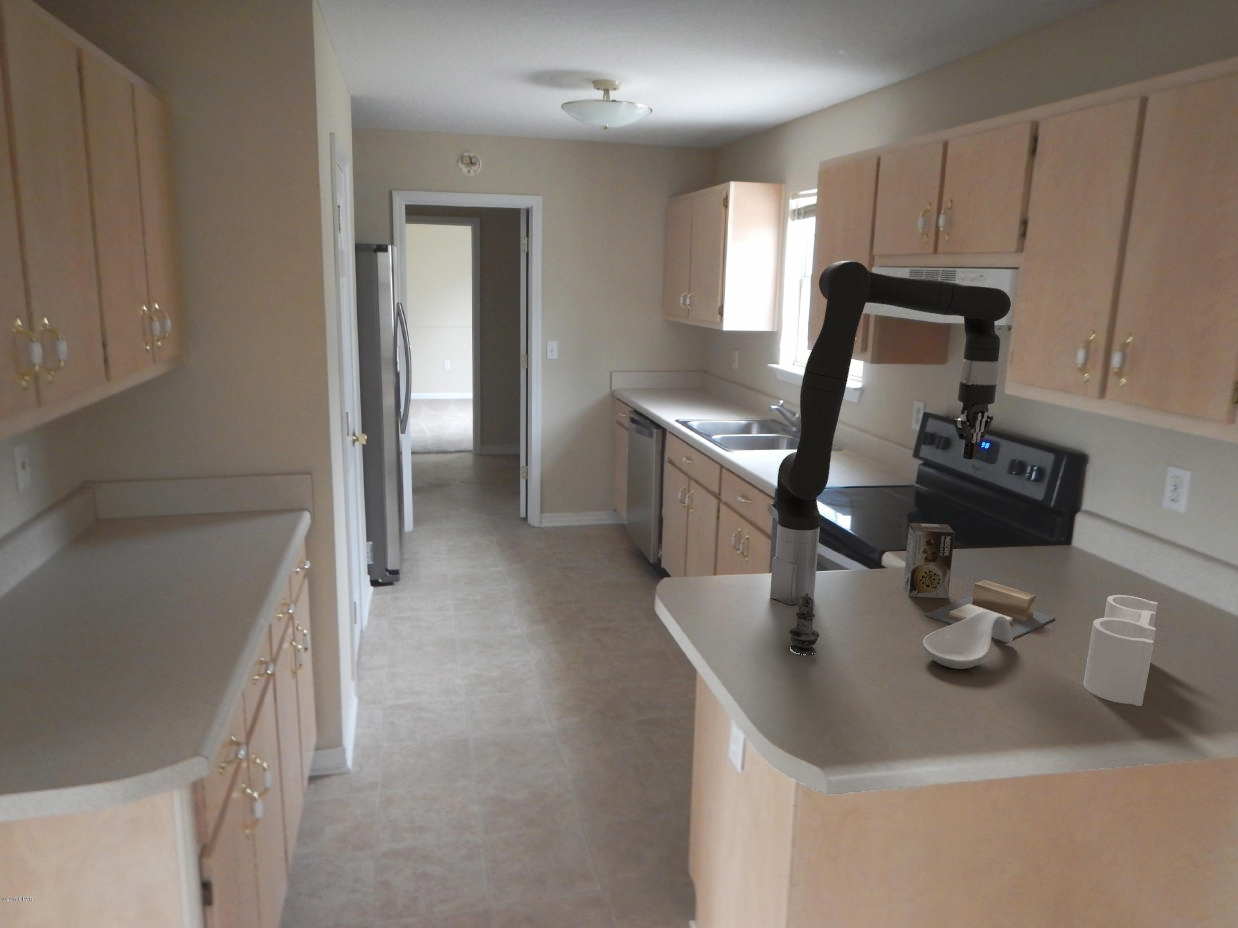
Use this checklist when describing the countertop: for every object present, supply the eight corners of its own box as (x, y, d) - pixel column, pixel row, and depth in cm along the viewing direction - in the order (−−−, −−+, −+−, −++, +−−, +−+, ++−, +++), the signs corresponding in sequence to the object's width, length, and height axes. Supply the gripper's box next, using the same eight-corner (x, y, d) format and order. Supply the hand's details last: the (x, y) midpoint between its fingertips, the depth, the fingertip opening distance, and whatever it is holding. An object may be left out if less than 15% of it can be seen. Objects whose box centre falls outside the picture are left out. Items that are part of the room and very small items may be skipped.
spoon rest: (965, 683, 162) (970, 646, 161) (909, 660, 171) (912, 626, 169) (1028, 648, 177) (1032, 615, 175) (973, 629, 186) (976, 597, 184)
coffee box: (941, 589, 210) (948, 523, 207) (948, 599, 204) (956, 531, 201) (901, 587, 211) (908, 521, 208) (907, 596, 205) (914, 529, 202)
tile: (1012, 622, 190) (993, 642, 186) (969, 607, 198) (949, 626, 194) (1011, 607, 189) (992, 627, 185) (968, 593, 196) (948, 612, 192)
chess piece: (819, 646, 176) (824, 589, 174) (816, 658, 171) (820, 599, 168) (789, 642, 178) (793, 585, 175) (785, 653, 172) (789, 595, 170)
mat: (1004, 643, 180) (1004, 641, 180) (925, 615, 194) (925, 613, 194) (1055, 619, 194) (1055, 617, 194) (978, 594, 208) (978, 593, 208)
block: (1024, 621, 191) (1027, 599, 190) (972, 604, 200) (974, 583, 199) (1033, 617, 194) (1036, 595, 193) (981, 600, 203) (984, 579, 202)
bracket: (1097, 647, 180) (1105, 590, 177) (1152, 660, 175) (1162, 601, 172) (1079, 693, 160) (1089, 630, 157) (1141, 709, 154) (1152, 644, 152)
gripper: (978, 377, 201) (969, 452, 204) (946, 380, 192) (937, 459, 196) (1010, 381, 195) (1000, 458, 199) (978, 384, 187) (969, 465, 190)
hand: (969, 458), depth 197 cm, fingers closed
